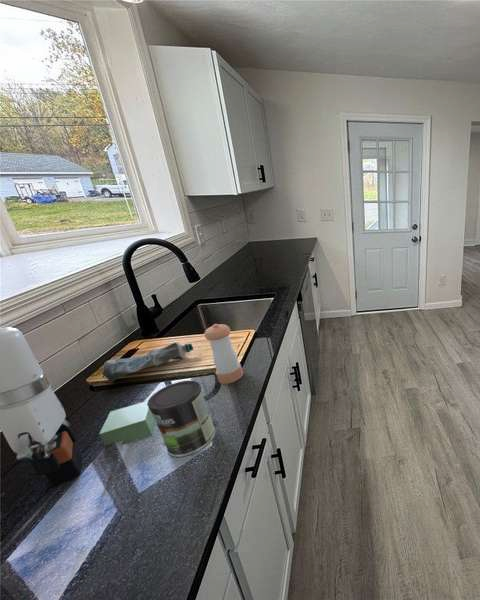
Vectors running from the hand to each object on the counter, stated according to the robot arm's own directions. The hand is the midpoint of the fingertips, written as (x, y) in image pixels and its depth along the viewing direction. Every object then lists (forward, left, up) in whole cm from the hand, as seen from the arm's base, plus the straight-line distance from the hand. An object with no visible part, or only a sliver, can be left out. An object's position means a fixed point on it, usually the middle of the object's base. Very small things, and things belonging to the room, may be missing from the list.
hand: (59, 456), depth 67 cm
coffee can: (+24, -2, -6) cm, 24 cm away
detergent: (+9, +45, -6) cm, 46 cm away
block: (+10, +10, -6) cm, 15 cm away
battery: (0, 0, -6) cm, 6 cm away
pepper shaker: (+33, +23, -6) cm, 40 cm away
